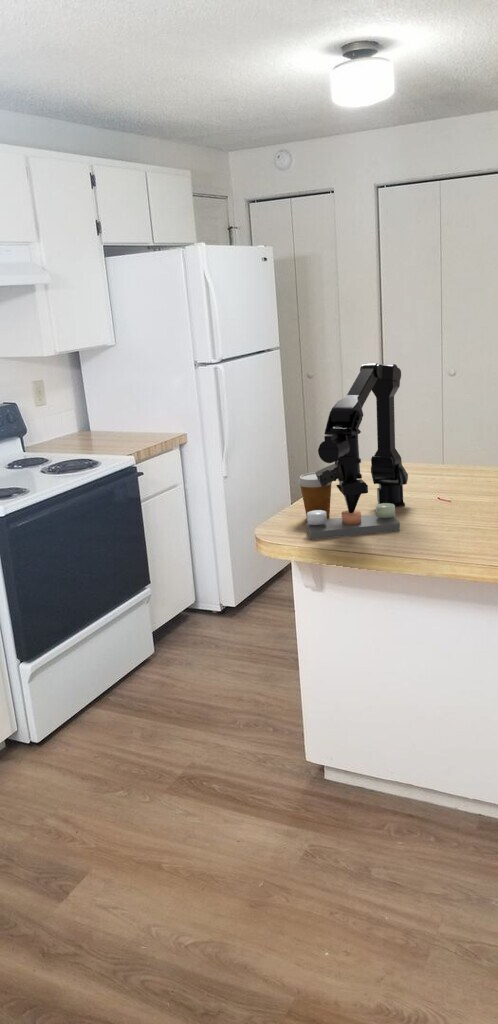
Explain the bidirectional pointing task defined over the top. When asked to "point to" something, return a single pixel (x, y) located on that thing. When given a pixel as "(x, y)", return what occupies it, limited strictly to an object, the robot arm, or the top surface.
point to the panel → (352, 527)
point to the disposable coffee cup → (315, 493)
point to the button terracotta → (351, 517)
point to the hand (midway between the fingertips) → (351, 512)
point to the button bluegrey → (316, 517)
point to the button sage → (385, 510)
